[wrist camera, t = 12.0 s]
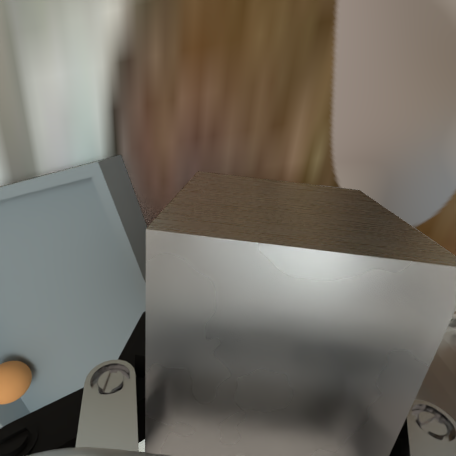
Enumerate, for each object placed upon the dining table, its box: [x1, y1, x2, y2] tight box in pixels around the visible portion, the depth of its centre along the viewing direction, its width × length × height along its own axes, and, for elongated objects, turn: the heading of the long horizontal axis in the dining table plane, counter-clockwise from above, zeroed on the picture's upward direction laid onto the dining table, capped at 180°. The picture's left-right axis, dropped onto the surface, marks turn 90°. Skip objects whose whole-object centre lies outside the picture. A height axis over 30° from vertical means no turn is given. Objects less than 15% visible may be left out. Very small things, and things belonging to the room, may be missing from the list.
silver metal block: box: [145, 171, 456, 456], centre depth 10 cm, size 12×6×6 cm, turn 174°
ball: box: [0, 361, 32, 404], centre depth 28 cm, size 4×4×4 cm
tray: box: [0, 155, 147, 428], centre depth 26 cm, size 24×20×4 cm
